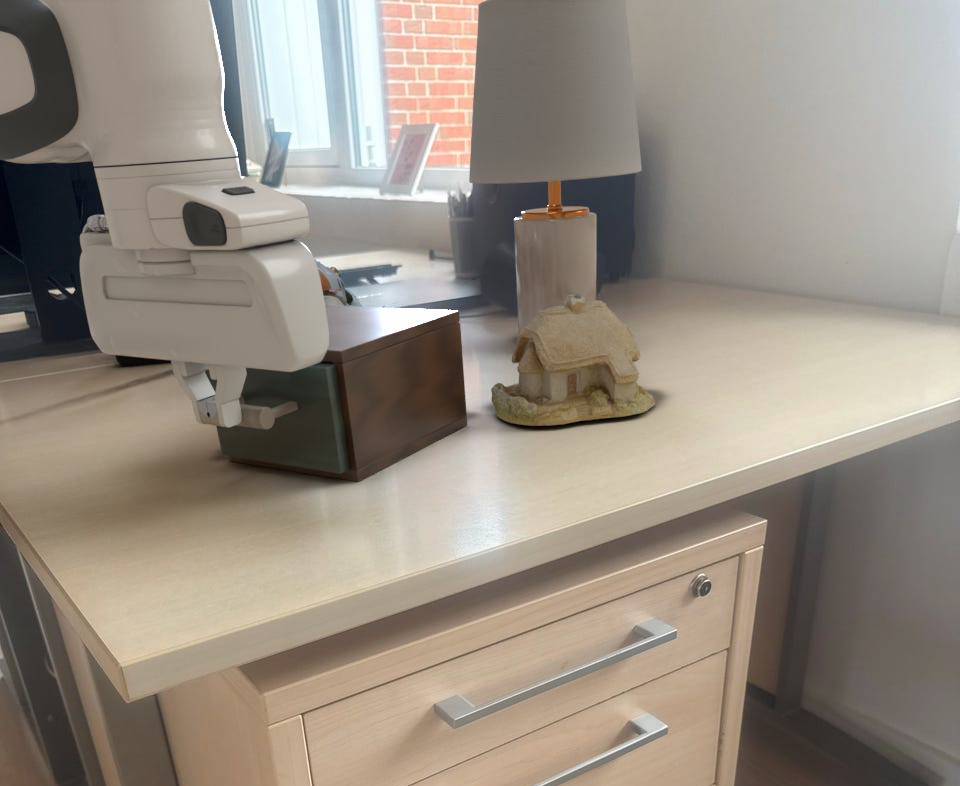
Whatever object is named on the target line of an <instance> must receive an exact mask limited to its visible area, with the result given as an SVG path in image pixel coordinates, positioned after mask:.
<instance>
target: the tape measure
mask: <svg viewBox="0 0 960 786" xmlns="http://www.w3.org/2000/svg"><path fill="white" fill-rule="evenodd" d="M114 357H115V359H116V362H117V363H118V364H119V365H120V366H122V367H136V366H137V367H138V366H148V365H155V364H168V363H171V360H162V359H152V358H142V357H132V356H122V355H114Z"/></svg>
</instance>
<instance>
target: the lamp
mask: <svg viewBox="0 0 960 786" xmlns="http://www.w3.org/2000/svg"><path fill="white" fill-rule="evenodd" d="M477 7H478V9H477V10H478V12H477V13H478V15H477V35H476V49H475V50H476V52H475V65H474V67H475V68H474V83H473V98H472V99H473V100H472V117H471V137H470V139H471V140H470V155H469V156H470V157H469V175H468V176H469V177H468V182H469V183H470V184H477V185H479V184H480V185H500V184H501V185H502V184H524V183H525V184H527V183H529V184H530V183H546V182H547V197H548V199H547V201H548V203H547V204H548V205H547V207H538V208H531V209H525V210H522V211H521V212H520V213H521V215H520V216H516V217H515V218H513V231H514V232H513V233H514V256H515V257H514V258H515V281H516V282H515V283H516V303H517V305H516V307H517V325H518V326H517V328H518V331H517V332H518V335H519V334H520V332H521V331H522V329H523V328H524V327H527V325H528V324H529V323H531V322H532V321H533V320H534V318H535V317H536V316H538V314H539V311H540V310H545V309H547V308H551V307H555V306H565V304H566V299H567V296H568V295H574V294H578V295H582V296H583V297H584V298H585V302H588V301H598V300H597V299H598V298H597V297H598V296H597V295H598V294H597V290H598V289H597V287H598V286H597V280H598V279H597V278H598V277H597V274H598V273H597V269H598V267H597V261H598V260H597V259H598V258H597V256H598V255H597V248H598V247H597V245H598V244H597V240H598V239H597V233H598V232H597V225H598V224H597V223H598V221H597V220H598V219H597V213H595V212H592V211H590V207H588V206H581V205H580V206H579V205H577V206H575V205H570V206H569V205H568V206H563V204H562V185H561V184H562V182H563V181H574V180H585V179H586V180H587V179H596V178H597V179H598V178H607V177H608V178H609V177H617V176H625V175H632V174H637V173H641V172H642V170H643V168H642V157H641V156H642V155H641V147H640V135H639V125H638V113H637V104H636V93H635V83H634V72H633V64H632V63H633V62H632V55H631V45H630V33H629V27H628V26H629V25H628V15H627V3H626V0H484V1H481V2H480V3H479V4H478V6H477Z"/></svg>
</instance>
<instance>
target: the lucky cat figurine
mask: <svg viewBox="0 0 960 786" xmlns="http://www.w3.org/2000/svg"><path fill="white" fill-rule="evenodd" d="M315 262H316V265H317V268H318V271H319V275H320V280H321V285H322V290H323V295H324V301H325V307H329V306H333V305H335V306H358V307H364V306H363V305H362V303H361V302H360V300H359V298H358V297H357V295H355V294H354V293H353V292H352V291H351V290H349V289H348V288H346V284H345V282H344V281H343V279H342V278H341V273H340V271H339V270H338V268H336V267H335V266H330V267H329V266H326V265H324V264H322V263H321V262H320V261H317V259H315Z"/></svg>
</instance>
